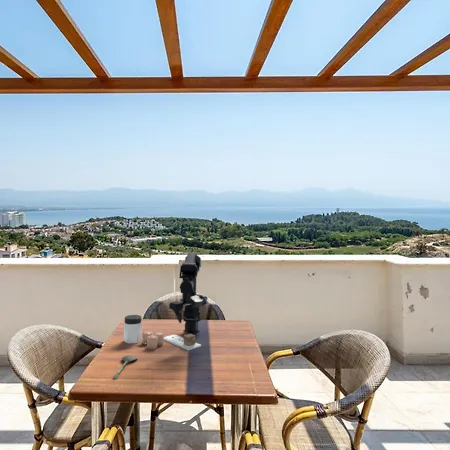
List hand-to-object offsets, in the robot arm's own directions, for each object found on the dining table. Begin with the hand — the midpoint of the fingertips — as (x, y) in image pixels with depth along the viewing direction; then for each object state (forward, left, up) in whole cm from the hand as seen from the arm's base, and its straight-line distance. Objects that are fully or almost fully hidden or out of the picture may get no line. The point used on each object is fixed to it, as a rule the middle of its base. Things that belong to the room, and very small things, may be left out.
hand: (187, 321), depth 182 cm
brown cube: (0, +2, -11) cm, 11 cm away
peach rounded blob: (+14, -9, -12) cm, 20 cm away
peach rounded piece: (+12, -16, -12) cm, 23 cm away
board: (0, -5, -12) cm, 13 cm away
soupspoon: (+36, +3, -13) cm, 38 cm away
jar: (+16, -23, -12) cm, 30 cm away
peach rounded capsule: (+9, -11, -12) cm, 19 cm away
